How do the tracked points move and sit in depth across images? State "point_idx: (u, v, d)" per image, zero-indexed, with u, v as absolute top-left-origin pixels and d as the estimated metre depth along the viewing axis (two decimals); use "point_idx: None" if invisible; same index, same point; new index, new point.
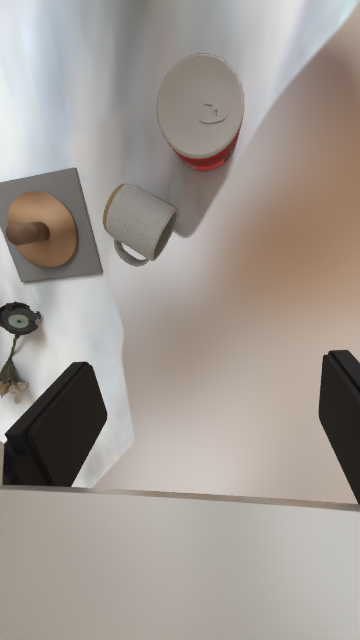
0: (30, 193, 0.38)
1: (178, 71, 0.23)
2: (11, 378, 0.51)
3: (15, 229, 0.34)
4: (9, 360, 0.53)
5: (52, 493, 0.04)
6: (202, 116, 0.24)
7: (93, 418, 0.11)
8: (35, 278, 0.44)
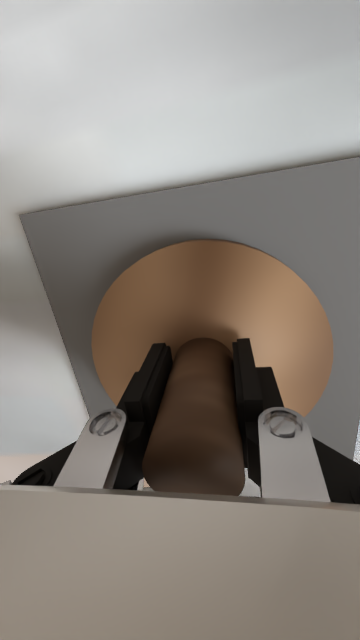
0: (326, 363, 0.11)
1: None
2: None
3: (216, 484, 0.07)
4: None
5: (52, 493, 0.04)
6: None
7: None
8: (47, 277, 0.13)
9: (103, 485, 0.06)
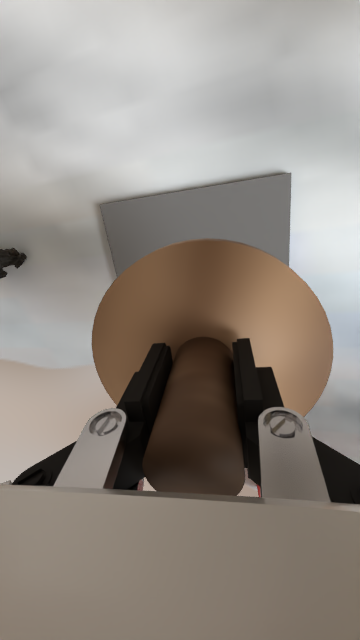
0: (326, 362, 0.11)
1: None
2: None
3: (216, 483, 0.07)
4: None
5: (52, 493, 0.04)
6: None
7: None
8: (111, 240, 0.22)
9: (103, 485, 0.06)
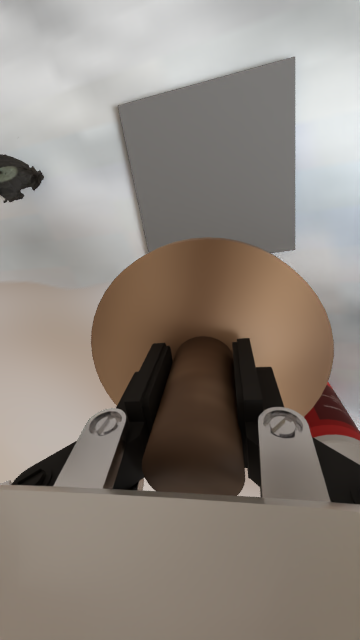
0: (326, 362, 0.11)
1: None
2: None
3: (216, 483, 0.07)
4: None
5: (52, 493, 0.04)
6: None
7: None
8: (128, 142, 0.24)
9: (103, 485, 0.06)
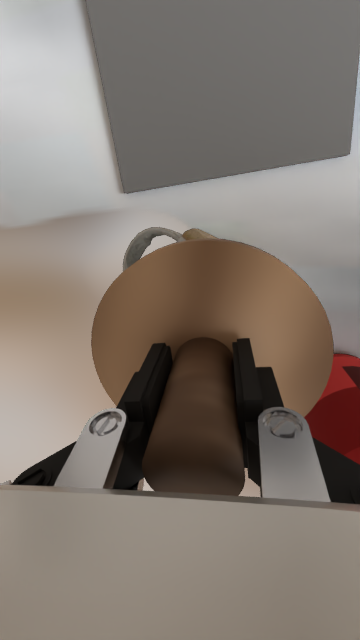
0: (326, 363, 0.11)
1: None
2: None
3: (216, 484, 0.07)
4: None
5: (52, 493, 0.04)
6: None
7: None
8: None
9: (103, 485, 0.06)
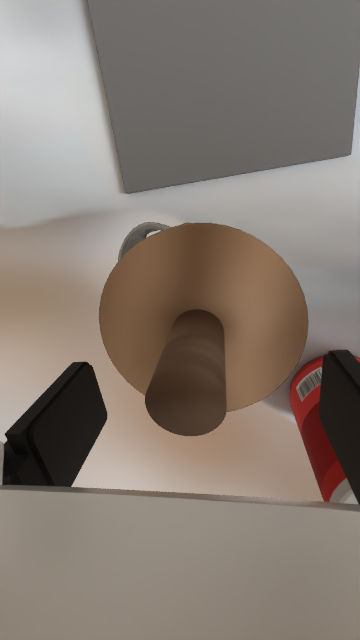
0: (302, 328, 0.13)
1: None
2: None
3: (204, 412, 0.09)
4: None
5: (52, 493, 0.04)
6: None
7: (93, 418, 0.11)
8: None
9: None
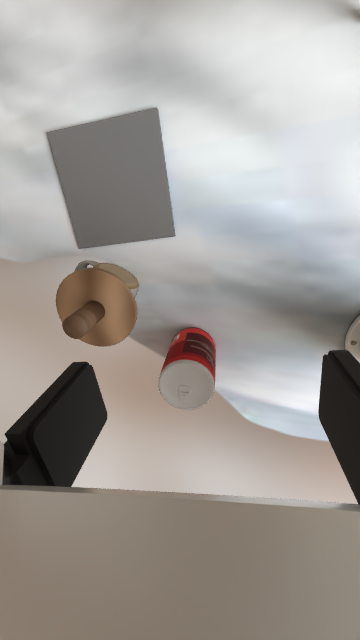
0: (132, 308, 0.34)
1: (206, 377, 0.34)
2: None
3: (79, 330, 0.30)
4: None
5: (52, 493, 0.04)
6: (181, 387, 0.35)
7: (93, 418, 0.11)
8: (56, 157, 0.35)
9: None
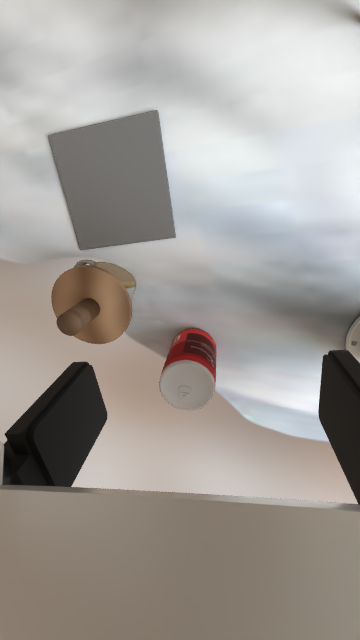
0: (127, 305, 0.34)
1: (207, 377, 0.34)
2: None
3: (74, 326, 0.30)
4: None
5: (52, 493, 0.04)
6: (182, 387, 0.35)
7: (93, 418, 0.11)
8: (57, 159, 0.35)
9: None
